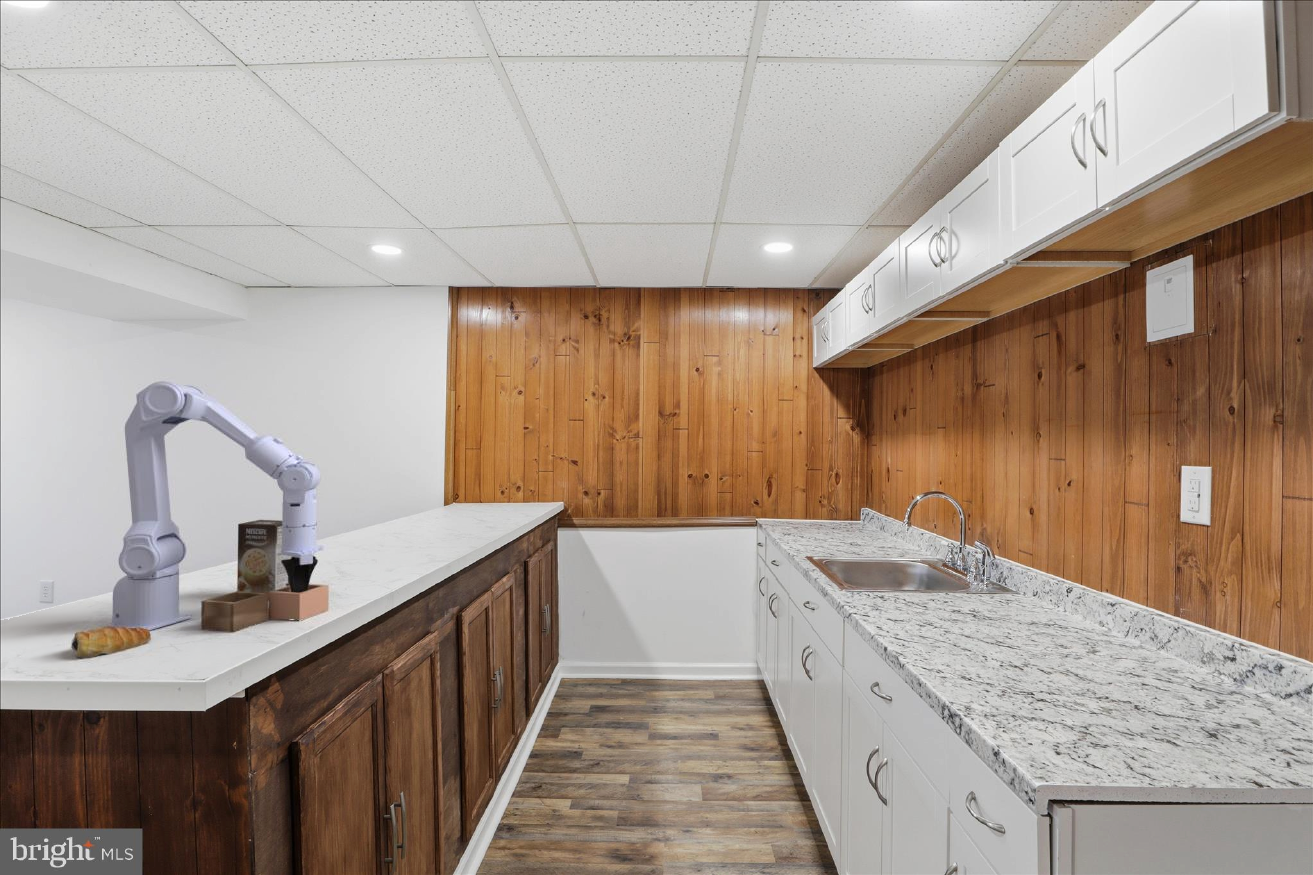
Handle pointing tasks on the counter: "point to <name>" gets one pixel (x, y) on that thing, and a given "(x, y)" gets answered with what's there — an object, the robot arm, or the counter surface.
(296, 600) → the box
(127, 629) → the pastry
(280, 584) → the coffee box
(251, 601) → the box
